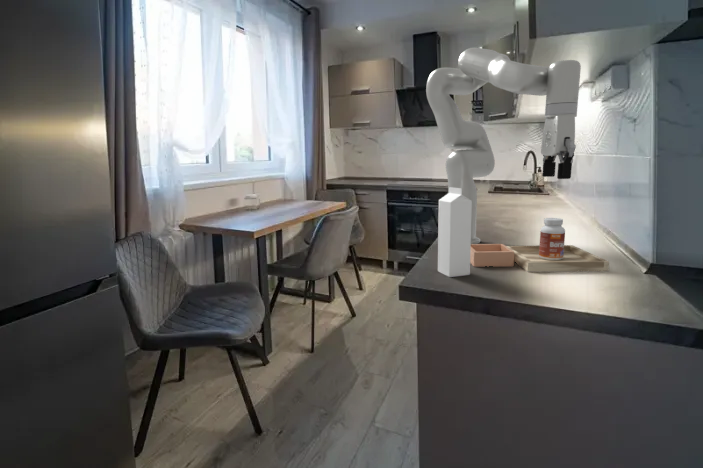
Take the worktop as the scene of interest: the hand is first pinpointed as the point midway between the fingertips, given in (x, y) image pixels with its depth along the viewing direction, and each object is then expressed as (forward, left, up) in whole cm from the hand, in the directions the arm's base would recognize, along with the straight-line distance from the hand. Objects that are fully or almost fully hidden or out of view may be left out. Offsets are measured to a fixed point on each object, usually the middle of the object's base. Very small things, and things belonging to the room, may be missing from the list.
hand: (555, 177), depth 112 cm
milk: (+11, -29, -24) cm, 39 cm away
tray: (0, 0, -23) cm, 23 cm away
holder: (-1, -17, -23) cm, 29 cm away
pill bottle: (0, 0, -23) cm, 23 cm away
